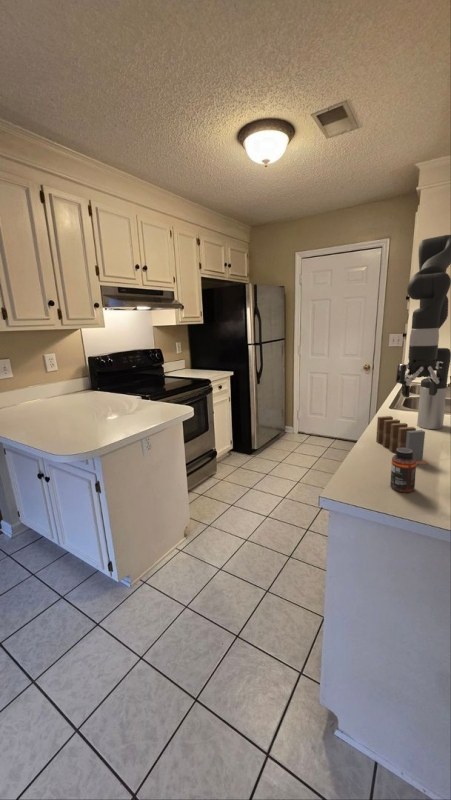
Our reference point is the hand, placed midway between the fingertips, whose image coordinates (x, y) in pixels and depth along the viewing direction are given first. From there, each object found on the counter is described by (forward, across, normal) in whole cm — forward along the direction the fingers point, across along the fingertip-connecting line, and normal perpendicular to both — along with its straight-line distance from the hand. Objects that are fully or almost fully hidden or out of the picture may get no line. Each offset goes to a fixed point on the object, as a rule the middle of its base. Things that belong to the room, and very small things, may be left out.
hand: (419, 396), depth 102 cm
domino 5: (+22, 0, 0) cm, 22 cm away
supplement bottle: (+22, +14, +16) cm, 31 cm away
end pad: (+22, 0, 0) cm, 22 cm away
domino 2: (+22, 0, -14) cm, 26 cm away
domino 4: (+22, 0, -4) cm, 22 cm away
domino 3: (+22, 0, -9) cm, 24 cm away
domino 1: (+22, 0, -18) cm, 28 cm away
